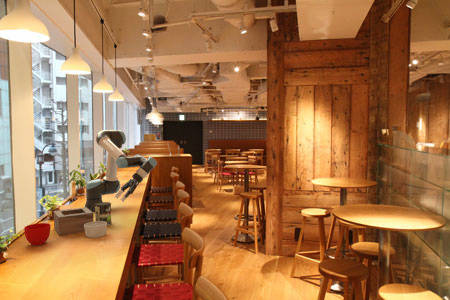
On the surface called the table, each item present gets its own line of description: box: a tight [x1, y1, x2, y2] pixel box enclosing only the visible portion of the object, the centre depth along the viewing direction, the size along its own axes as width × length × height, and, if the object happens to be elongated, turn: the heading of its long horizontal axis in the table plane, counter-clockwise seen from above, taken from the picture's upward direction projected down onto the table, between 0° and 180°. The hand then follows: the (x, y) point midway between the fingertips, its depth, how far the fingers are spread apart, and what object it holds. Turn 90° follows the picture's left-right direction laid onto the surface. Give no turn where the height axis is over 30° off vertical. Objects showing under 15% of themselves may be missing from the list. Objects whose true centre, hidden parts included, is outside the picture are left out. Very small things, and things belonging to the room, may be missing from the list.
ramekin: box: [84, 221, 108, 239], centre depth 212 cm, size 13×13×7 cm
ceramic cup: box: [23, 222, 52, 246], centre depth 198 cm, size 13×17×10 cm
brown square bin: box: [53, 206, 95, 237], centre depth 225 cm, size 20×20×12 cm
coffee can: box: [94, 201, 112, 226], centre depth 236 cm, size 10×10×14 cm
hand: (118, 199), depth 241 cm, fingers open, 13 cm apart
